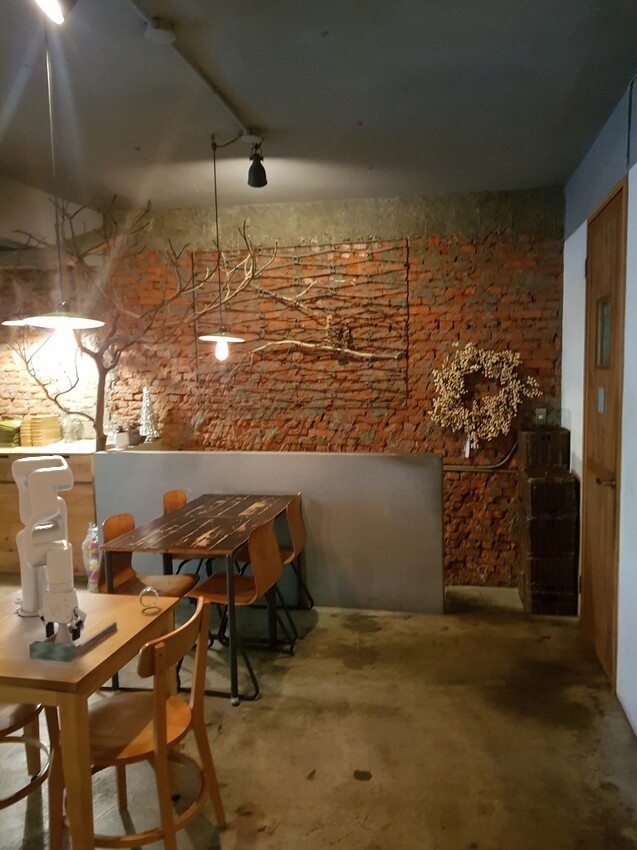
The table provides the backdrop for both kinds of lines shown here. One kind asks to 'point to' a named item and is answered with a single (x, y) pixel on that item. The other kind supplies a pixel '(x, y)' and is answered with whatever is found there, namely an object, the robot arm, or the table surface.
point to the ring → (145, 593)
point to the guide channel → (66, 646)
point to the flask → (63, 635)
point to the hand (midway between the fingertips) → (63, 637)
